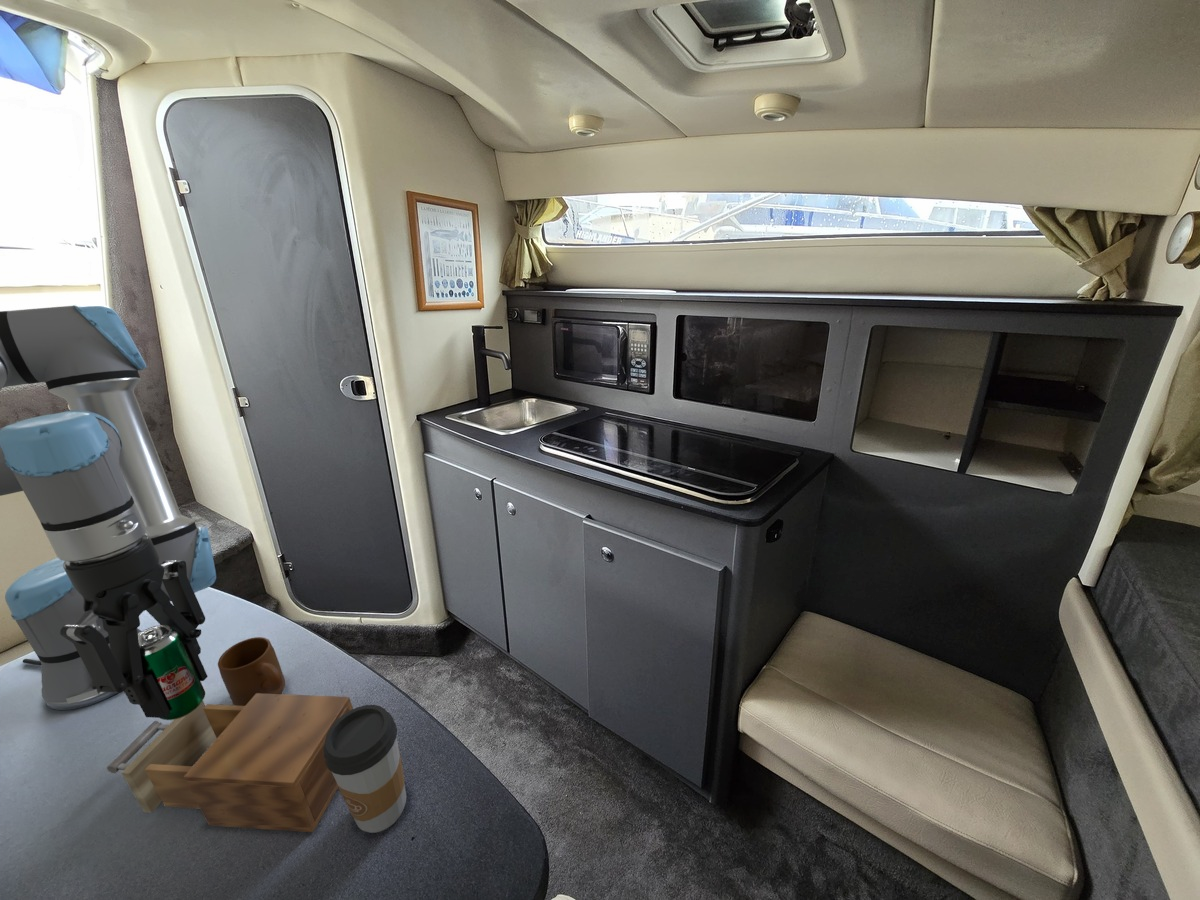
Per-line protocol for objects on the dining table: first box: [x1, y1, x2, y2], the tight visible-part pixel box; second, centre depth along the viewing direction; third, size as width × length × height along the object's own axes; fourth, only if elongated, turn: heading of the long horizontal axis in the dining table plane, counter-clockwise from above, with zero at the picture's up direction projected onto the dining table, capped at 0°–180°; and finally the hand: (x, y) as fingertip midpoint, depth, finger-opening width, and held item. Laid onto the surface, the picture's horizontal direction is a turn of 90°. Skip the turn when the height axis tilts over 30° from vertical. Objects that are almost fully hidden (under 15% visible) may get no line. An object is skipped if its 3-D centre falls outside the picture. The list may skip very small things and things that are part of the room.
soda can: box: [138, 624, 206, 721], centre depth 64 cm, size 5×5×12 cm
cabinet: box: [184, 693, 354, 833], centre depth 69 cm, size 15×13×10 cm
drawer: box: [106, 700, 245, 814], centre depth 70 cm, size 19×11×8 cm, turn 86°
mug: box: [217, 636, 286, 706], centre depth 82 cm, size 12×8×9 cm, turn 63°
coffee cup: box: [324, 704, 407, 834], centre depth 64 cm, size 8×8×15 cm
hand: (178, 695), depth 65 cm, fingers closed on soda can, 5 cm apart
